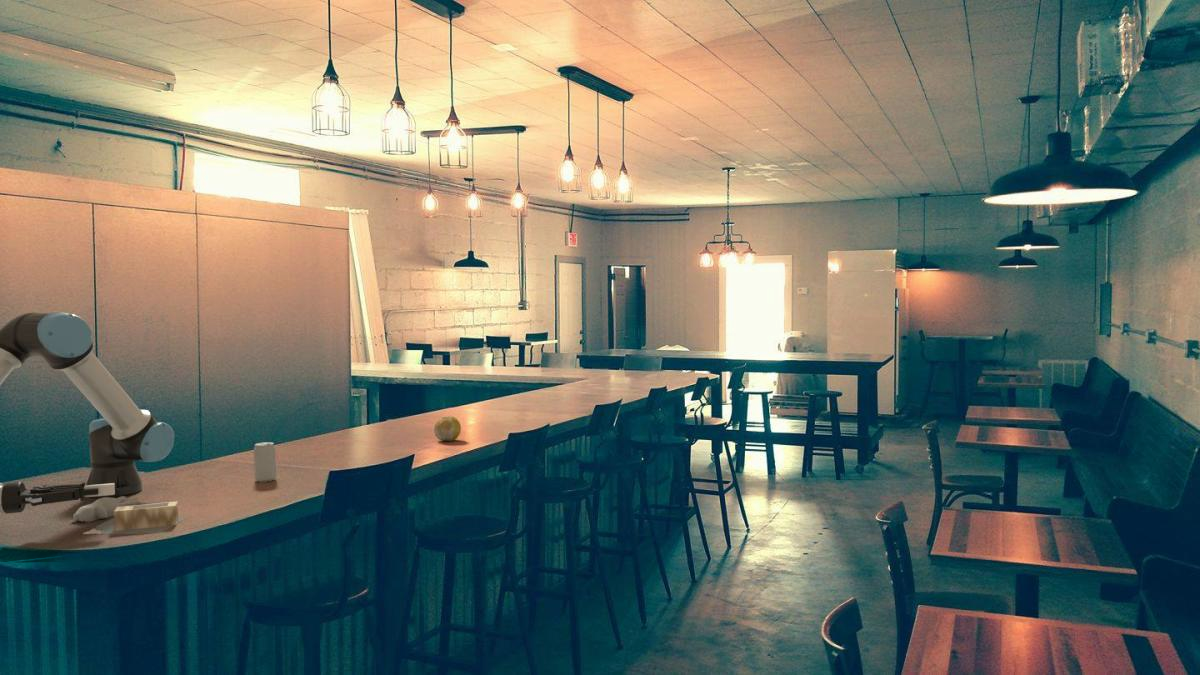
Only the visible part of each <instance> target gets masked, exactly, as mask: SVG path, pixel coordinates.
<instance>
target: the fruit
mask: <svg viewBox="0 0 1200 675" xmlns="http://www.w3.org/2000/svg"><path fill="white" fill-rule="evenodd" d="M433 431H434V432H433V433H434V436H435V437H436V438H437V439H438V440H440V441H444V442H445V441H446V442H447V441H448V442H453V441H455V440H457V439H458V438H459V436H460V434H461V431H462V427H461V423H460V421H459V420H458V418H457V417H455V416H451V415H449V416H443V417H441V418H438V419H437V421H436V422H435V425H434V427H433Z"/></svg>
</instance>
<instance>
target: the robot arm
mask: <svg viewBox="0 0 1200 675" xmlns="http://www.w3.org/2000/svg"><path fill="white" fill-rule="evenodd" d="M92 335H93V333H92V329H91V327H90V325H89V324H88V323H87V321H86V320H85V319H83V318H82V317H81V316H79V315H76V314H74V313H67V312H61V311H60V312H59V311H57V312H28V313H23V314H20V315H18V316H16V317H14V318H12V319H11V320H10V321H8V322H7V323H6V324H5V325H3V326H2V327H1V328H0V386H1V385H2V384H3V383H4V381H6V379H7V377H9V376H10V374H11V373H12V372H13V370H15V369H20V368H21V366H22V365H23V364H24V363H25V362H26V361H27V360H29V359H31V358H32V357H42V358H43V360H44V361H45V362H46V363H47V364H48V365H49V366H50V368H51V369H52V370H54V371H62V372H63V373H64V374H65V375H66V376H67V378H69V380H70V381H71V383H73V384H74V386H76V388H77V389H78V390H79V391H80V393H81V394H83V395H84V397H85V398H86V399H87V400H88V401H89V402H90V404H91V405H92V407H94V408H95V409H96V411H97V412H98V413H99V414H100V415H101V417H102V418H98V419H93V420H92V421H91V422H90V423H89V428H88V429H89V430H88V431H89V432H88V437H89V440H88V442H89V453H90V472H89V475H88V478H87V480H86V482H85V481H84V482H82V483H80V484H79V483H78V484H55V485H53V484H52V485H51V484H50V485H48V484H44V485H42V486H41V485H39V486H38V485H37V486H32V488H29V489H27V488H26V485H25V483H24V482H23V481H10V482H9V481H8V482H6V483H2V482H0V515H2V514H3V513H5V514H17V513H22V512H23V511H24V510H25V509H26V504H27V505H29V504H31V506H32V507H36V506H41V505H46V504H54V503H61V502H69V501H78V500H79V501H80V502H83V501H85V500H84V499H85V498H93V499H95V498H97V499H100V498H104V497H110V498H116V497H121V496H127V495H128V496H129V495H133V494H135V493H139V492H141V491H142V490H143V480H142V479H141V476H140V474H139V472H138V469H137V467H136V461H137V462H145V463H151V462H155V463H156V462H159V461H162V460H165V458H166V457H167V456H169V454H170V453H171V451H172V449H173V448H174V444H175V442H174V441H175V432H174V430H173V428H172V426H171V425H169V423H166V422H164V421H163V422H162V421H158V420H156V418H155V417H154V416H153V414H152V413H151V412H150V411H149V410H147V409H140V408H139V407H138V406H137V404H136V403H135V402H134V401H133V400H132V398H131V396H129V395H128V394H127V392H126V391H125V389H124V388H123V387H122V386H121V385H120V384H119V383H118V381H117V380H116V378H114V376H113V375H112V374H111V373H110V372H109V371H108V369H107V368H106V367H105V366H104V364H103V363H102V362H101V361H100V359H99V358H98V357H97V356H96V354H94V352H93V351H94V349H95V345H94V343H93V337H92Z"/></svg>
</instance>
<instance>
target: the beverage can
mask: <svg viewBox="0 0 1200 675" xmlns="http://www.w3.org/2000/svg"><path fill="white" fill-rule="evenodd" d="M253 456H254V457H253V461H254V463H253V464H254V465H253V466H254V480H255V481H257V482H258V483H268V482H267V481H270V482H272V480H273V481H274V480H275V479H276V478H277V464H276V463H277V462H276V460H277V459H276V446H275V444H274V442H270V441H269V442H266V441H265V442H257V443H255V444H254V448H253Z"/></svg>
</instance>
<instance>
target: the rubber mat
mask: <svg viewBox="0 0 1200 675" xmlns="http://www.w3.org/2000/svg"><path fill="white" fill-rule="evenodd" d="M188 518H189V516H178V522H177V524H179V523H180V522H181V523H182V521H185V520H186V519H188ZM174 526H175V525H169V526H160V527H150V528H140V529H130V530H120V531H115V522H114V517H113V518H111V519H109V520H107V521H105V522H102V523H100V524H99V525H95V527H96V528H94V527H93V528H94V530H95V529H96V530H97V531H98V530H100V531H101V532H102V531H104V532H102V533H103V534H102V533H101V534H100V535H123V534H124V535H125V534H128V535H130V534H131V535H134V534H135V535H136V534H139V535H140V534H162V533H163V532H165V531H167V530H169V529H171V528H172V527H174Z"/></svg>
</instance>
